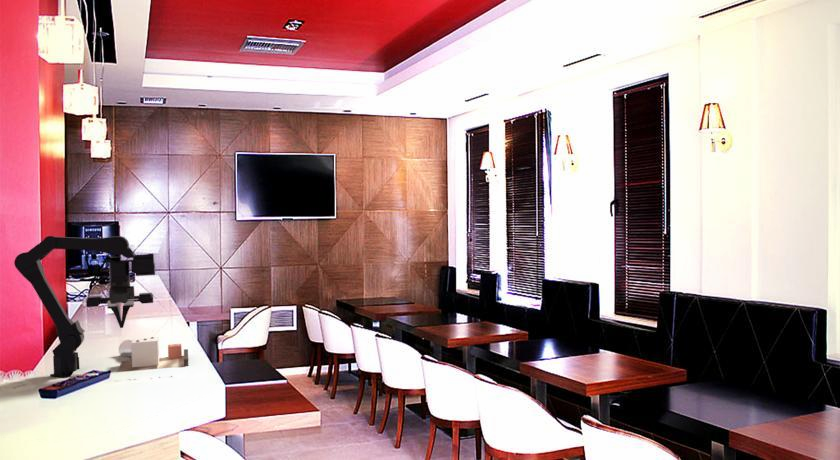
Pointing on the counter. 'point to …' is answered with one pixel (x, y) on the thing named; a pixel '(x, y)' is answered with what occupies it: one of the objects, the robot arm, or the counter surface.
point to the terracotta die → (174, 351)
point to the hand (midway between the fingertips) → (121, 327)
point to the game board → (163, 363)
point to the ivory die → (145, 352)
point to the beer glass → (125, 348)
